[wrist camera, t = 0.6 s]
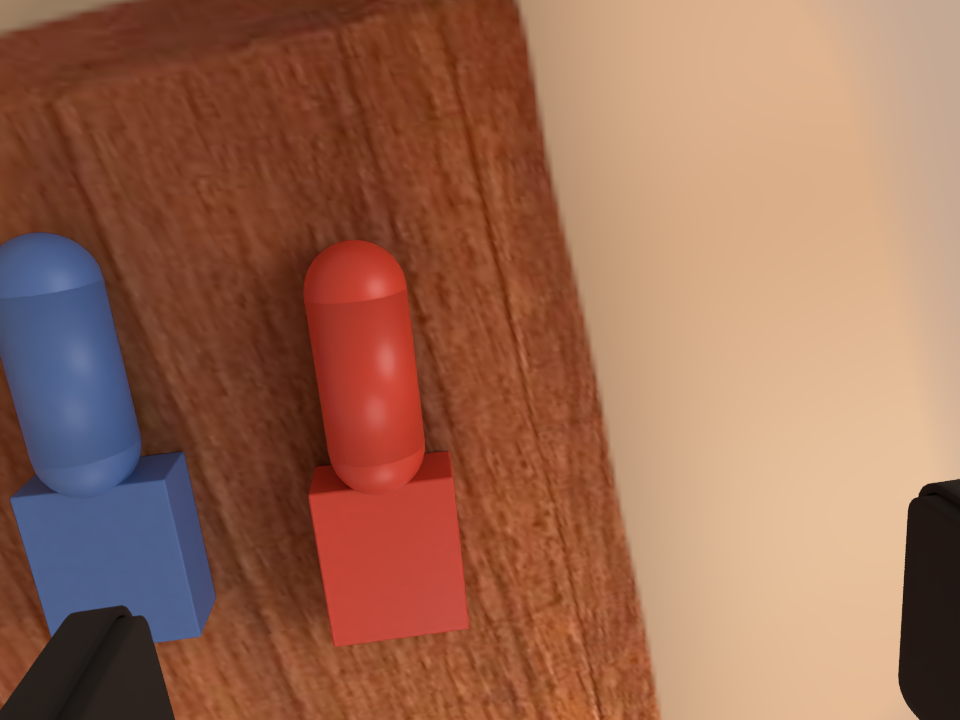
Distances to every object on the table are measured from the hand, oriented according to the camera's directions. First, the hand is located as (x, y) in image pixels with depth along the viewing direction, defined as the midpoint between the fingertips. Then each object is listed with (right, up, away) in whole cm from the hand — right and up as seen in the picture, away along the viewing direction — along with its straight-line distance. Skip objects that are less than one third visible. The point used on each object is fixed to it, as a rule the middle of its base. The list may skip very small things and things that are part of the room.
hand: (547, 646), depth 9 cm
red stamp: (-4, +1, +14) cm, 15 cm away
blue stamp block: (-12, +1, +13) cm, 18 cm away
